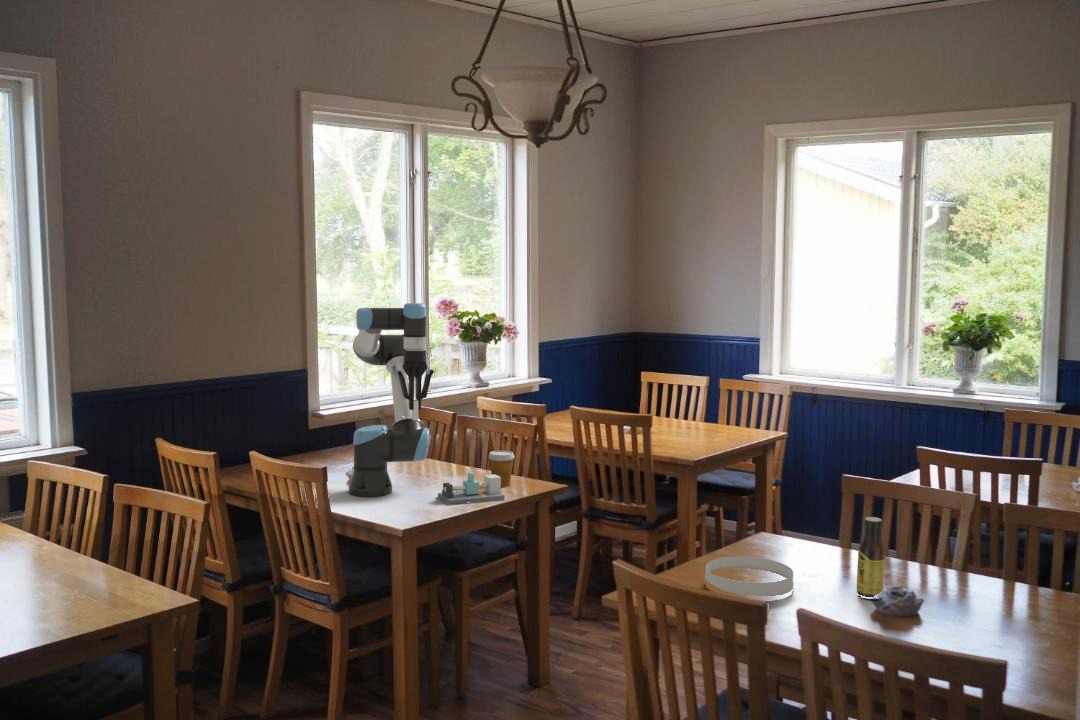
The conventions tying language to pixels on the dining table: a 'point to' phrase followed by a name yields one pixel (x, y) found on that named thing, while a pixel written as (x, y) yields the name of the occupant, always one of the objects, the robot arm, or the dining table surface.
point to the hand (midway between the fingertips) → (414, 419)
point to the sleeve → (471, 485)
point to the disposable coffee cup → (502, 465)
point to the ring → (748, 587)
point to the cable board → (487, 494)
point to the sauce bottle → (871, 559)
